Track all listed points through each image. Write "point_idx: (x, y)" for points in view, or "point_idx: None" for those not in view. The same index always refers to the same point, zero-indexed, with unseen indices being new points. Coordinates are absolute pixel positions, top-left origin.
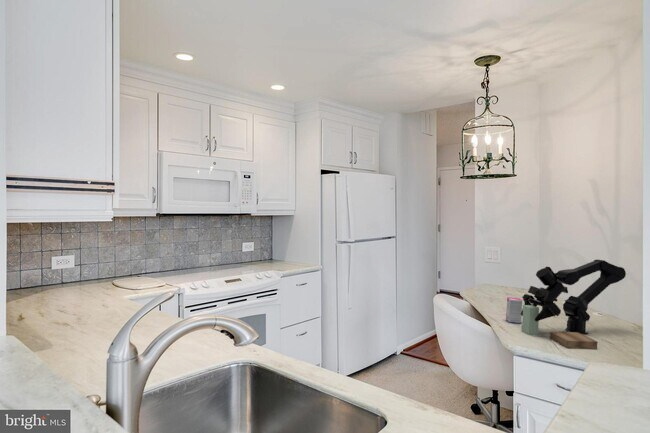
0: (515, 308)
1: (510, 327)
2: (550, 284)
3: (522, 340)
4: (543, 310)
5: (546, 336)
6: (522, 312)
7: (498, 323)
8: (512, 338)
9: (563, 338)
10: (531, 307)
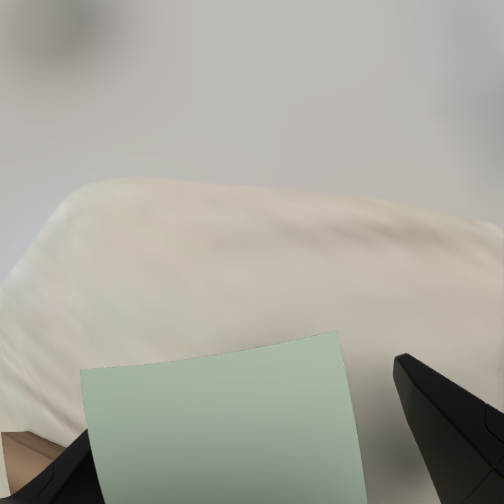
0: None
1: (425, 306)
2: None
3: (119, 266)
4: (17, 500)
5: None
6: (408, 375)
7: (496, 251)
8: (154, 221)
9: (23, 448)
10: (100, 425)
